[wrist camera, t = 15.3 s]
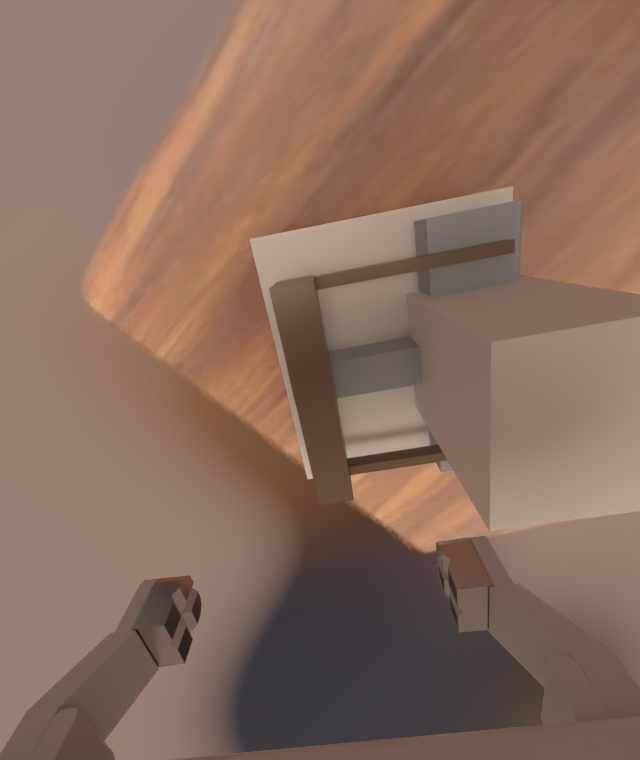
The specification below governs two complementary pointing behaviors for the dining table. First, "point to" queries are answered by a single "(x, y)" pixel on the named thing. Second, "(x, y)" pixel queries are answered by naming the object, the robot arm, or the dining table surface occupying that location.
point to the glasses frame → (314, 372)
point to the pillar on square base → (474, 360)
